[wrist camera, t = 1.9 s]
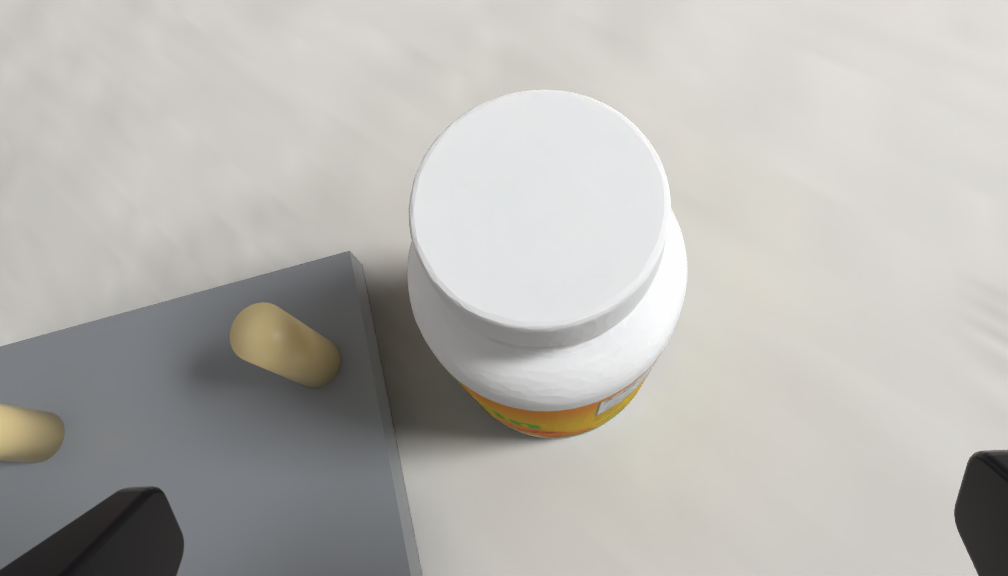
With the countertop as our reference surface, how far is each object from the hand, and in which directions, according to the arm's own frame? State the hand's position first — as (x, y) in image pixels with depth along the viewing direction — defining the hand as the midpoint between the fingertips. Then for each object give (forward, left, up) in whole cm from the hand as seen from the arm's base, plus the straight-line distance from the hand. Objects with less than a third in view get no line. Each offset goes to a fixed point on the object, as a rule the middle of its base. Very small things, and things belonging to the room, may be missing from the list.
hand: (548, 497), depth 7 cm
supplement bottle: (+4, -1, -11) cm, 12 cm away
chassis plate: (+1, +10, -11) cm, 15 cm away
